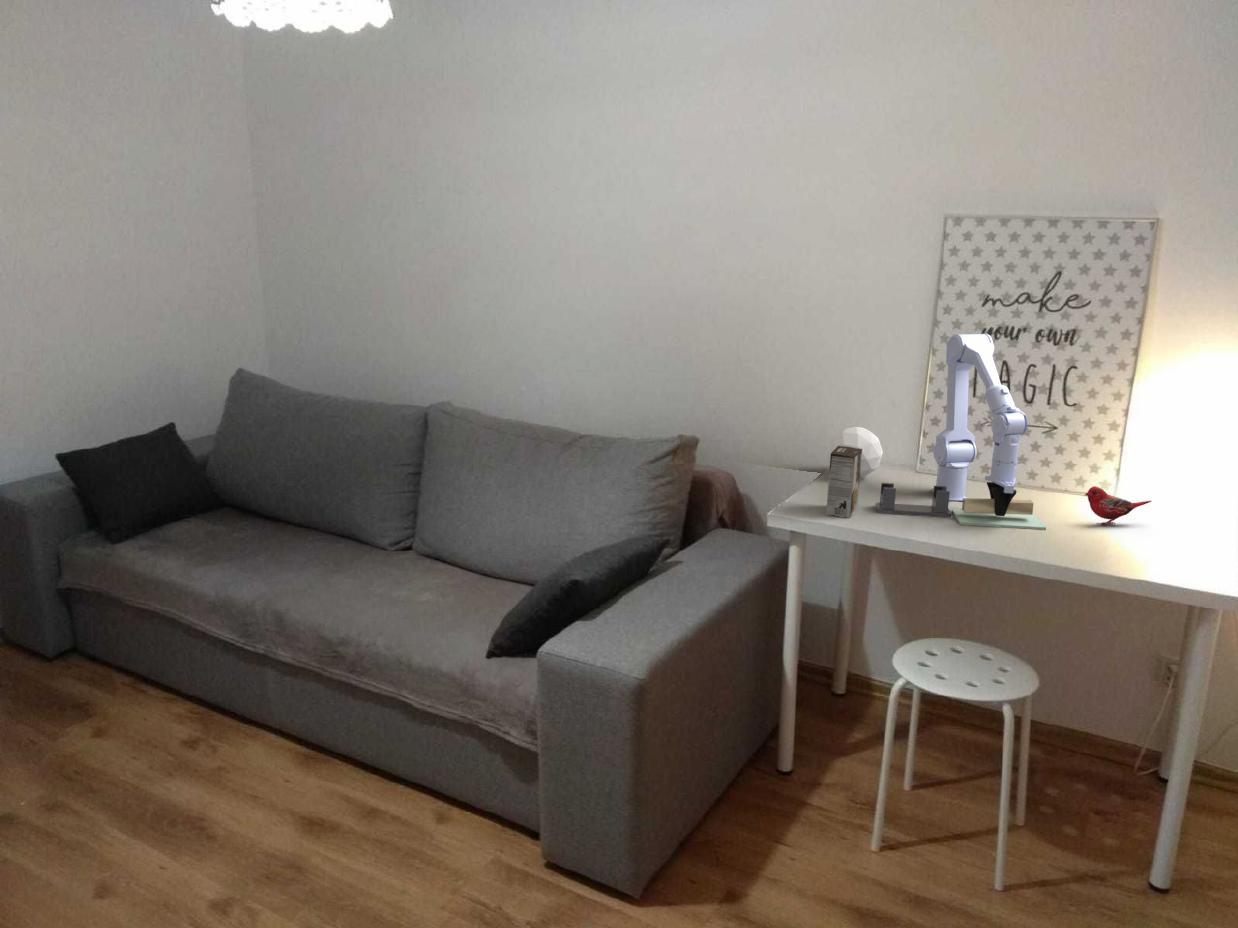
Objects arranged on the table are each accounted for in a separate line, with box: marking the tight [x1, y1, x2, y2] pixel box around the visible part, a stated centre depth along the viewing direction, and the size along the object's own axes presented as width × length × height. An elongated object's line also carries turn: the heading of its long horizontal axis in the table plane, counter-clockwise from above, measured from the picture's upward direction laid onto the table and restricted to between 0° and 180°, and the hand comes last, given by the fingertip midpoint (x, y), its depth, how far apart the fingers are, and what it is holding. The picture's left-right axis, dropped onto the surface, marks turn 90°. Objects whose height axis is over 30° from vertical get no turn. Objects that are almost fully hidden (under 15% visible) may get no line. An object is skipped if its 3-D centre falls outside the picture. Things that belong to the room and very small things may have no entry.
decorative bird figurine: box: [1084, 486, 1152, 526], centre depth 232 cm, size 3×18×10 cm, turn 95°
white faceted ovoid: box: [828, 426, 884, 479], centre depth 272 cm, size 14×15×20 cm
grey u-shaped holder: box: [874, 482, 953, 518], centre depth 240 cm, size 6×18×6 cm, turn 81°
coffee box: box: [825, 446, 862, 519], centre depth 238 cm, size 9×6×16 cm
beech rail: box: [961, 497, 1034, 515], centre depth 234 cm, size 3×16×3 cm, turn 81°
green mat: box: [951, 508, 1047, 531], centre depth 235 cm, size 11×20×1 cm, turn 81°
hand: (998, 513), depth 235 cm, fingers closed on beech rail, 3 cm apart
